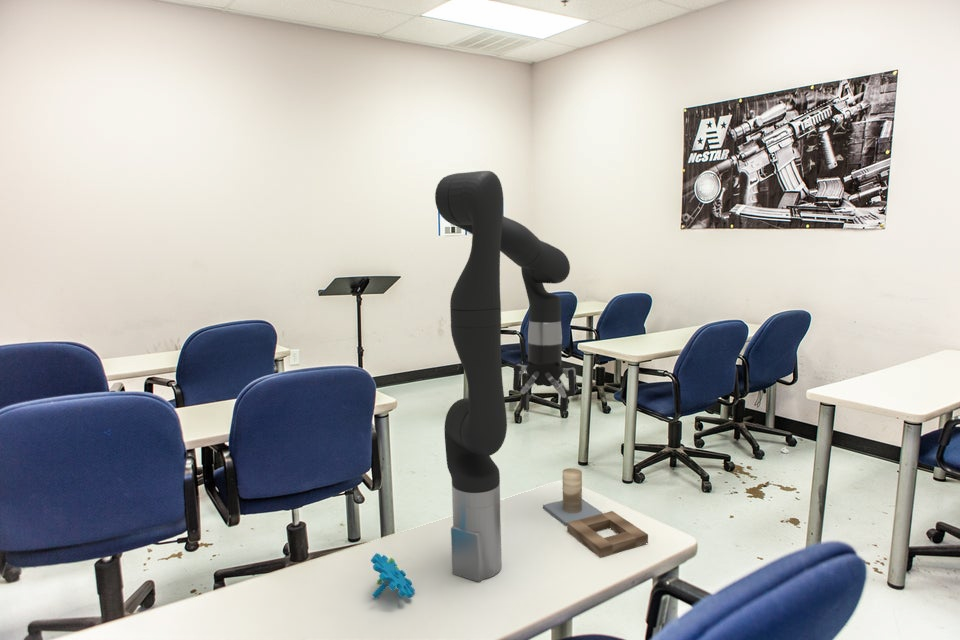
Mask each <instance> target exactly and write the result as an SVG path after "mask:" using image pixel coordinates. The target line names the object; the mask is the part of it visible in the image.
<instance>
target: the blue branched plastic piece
mask: <svg viewBox="0 0 960 640" xmlns="http://www.w3.org/2000/svg"><path fill="white" fill-rule="evenodd" d="M370 562H371V563H372V564H373V565H372V569H373V570H374V571H375V572H376V573H379V575H378V577H379V578H378V579H377V581H376V583H377V584H379V583H380V584H379V586H378V588H377V589H376V590H375V591H374V592H373V593H372V597H373V598H374V599H376V598H377V599H378V598H379V596H381V594H382V593H383V592H384V591H385V590H386V588H387V587H388V588H389V589H390V590H391V591H392V592H394V591H395V590H396V589H397V590H398V592H397V594H398V595H399V596H400V597H402V598H405V597H406V598H407V599H411V598H412V597H413V596H414V592H415V591H416V589H415V587H413V586H412V585H413V581H412V580H411V579H410V578H407V577H406V576H407V574H406V572H405V571H404V570H403V569H399V567H398V564H397V563H396V561H395V559H394V558H393V557H390V558H388V556H386V555H385V554H383V555H381V554H380V553H377V552H376V553H375V554H374V555H373V556H372V557H371V559H370Z"/></svg>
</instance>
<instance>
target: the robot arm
mask: <svg viewBox="0 0 960 640" xmlns="http://www.w3.org/2000/svg"><path fill="white" fill-rule="evenodd" d="M502 186H503V185H502V183H501V180H500V179H499V177H498V175H497V174H496V173H495V172H493V171H490V170H481V171H470V172H469V171H468V172H457V173H452V174H448V175H446V176H444V177H442V178H441V179H440V180H439V182H438V184H437V186H436V189H435V193H434V199H435V200H434V201H435V206H436V209H437V211H438V213H439V214H440V216H441V218H442V219H444V220H445V221H446V222H448V223H449V224H450V225H453V226H455V227H457V228H459V229H461V230H463V231H466V232H468V234H469V233H470V234H471V235H472V236H471V237H472V239H471V248H470V253H469V257H468V260H467V262H466V264H465V266H464V267H463V270H462V272H461V273H460V275H459V277H458V279H457V280H456V283H455V285H454V286H453V287H454V288H453V291H452V293H451V295H450V301H449V302H450V303H449V304H450V306H449V308H450V309H449V310H450V311H449V313H450V332H451V338H452V341H453V346H454V348H455V350H456V353H457V355H458V358H459V360H460V363H461V365H462V367H463V371H464V374H465V377H466V382H467V389H468V398H467V397H464V398H460V399H458V400H457V401H455V402H454V403H453V404H452V405H451V406H450V407H449V409H448V411H447V413H446V414H445V415H446V416H445V420H444V429H443V430H444V443H445V457H446V465H447V470H448V472H449V475H450V477H451V493H452V494H451V498H452V499H451V500H452V526H451V527H450V535H451V536H450V540H451V542H450V543H451V544H450V545H451V565H452V566H451V568H452V569H451V570H452V571H451V573H452V574H453V575H456V576H460V577H463V578H466V579H468V580H470V581H471V580H472V581H475V582H478V583H479V582H481V581H483V580H484V579H488V578H491V577H493V576H496V575H497V574H498V573H499V572H500V571H501V570H502V567H503V566H502V533H501V532H502V528H501V527H502V526H501V487H500V486H501V477H500V469H499V467H498V465H497V464H496V463H495V462H494V460H493V458H492V457H491V456H492V455H494V454H495V453H497V452H499V450H500V449H501V448H502V446H503V444H504V442H505V440H506V436H507V429H508V420H507V419H508V416H507V408H506V400H505V392H504V384H503V372H502V371H503V369H502V367H503V366H502V341H501V340H502V339H501V338H502V332H501V331H502V308H501V307H502V306H501V305H502V304H501V277H500V276H501V273H500V272H501V271H500V270H501V269H500V268H501V266H500V265H501V264H500V263H501V253H502V254H503V255H504V256H506V257H507V258H508V259H509V260H510V261H512V262H513V264H514V263H515V264H516V265H517V266H518V267H520V268H521V269H520V270H521V276H522V280H523V284H524V287H525V292H526V296H527V299H528V304H529V307H528V309H529V311H528V313H529V315H528V320H529V321H528V328H527V365H522V363H517V364H516V365H514V366H513V367H514V368H513V380H512V390H513V391H514V392H518V393H520V402H521V403H520V406H521V408H523V411H528V410H529V409H530V392H529V390H531V388H532V387H533V386H534V385H536V386H537V387H539V386H545V387H554V389H555V391H557V392H558V393H559V395H560V398H559V402H560V403H559V405H560V406H559V408H560V409H559V413H560V414H561V415H565V413H566V412H567V411H568V409H569V397H574V396H575V395H576V393H577V392H578V388H577V370H576V367H573V366H572V367H570V368H564V367H563V364H562V355H563V351H562V350H563V349H562V348H563V346H562V345H563V343H562V342H563V334H562V332H563V330H562V300H561V298H560V296H558V295H557V294H554V293H551V292H548V291H547V290H546V288H545V287H544V284H561V283H562V282H564V281H565V280H566V279H567V278H568V276H569V275H570V272H571V271H570V270H571V264H570V261H569V258H568V256H567V255H566V254H565V253H564V252H563V250H561V249H559V248H557V247H555V246H553V245H552V244H549V243H548V242H545V241H543V240H541V239H539V238H538V237H537V236H536V235H535V234H534V233H533V232H532V231H531V230H530V229H529V228H528V227H526V226H525V225H523V224H521V223H519V222H518V221H516V220H514V219H511V218H509V217H506V216H504V191H503V187H502ZM525 372H526V373H527V375H528V376H529V377H530V378H529V379H528V380H527V381H526V382H525V384H524V385H522V377H523V374H525ZM563 375H565V377H566V378H567V379H568V380H567V381H568V388H567V387H566V385H565V384H564V381H562V379H561V377H562V376H563Z"/></svg>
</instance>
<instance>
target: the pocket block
mask: <svg viewBox="0 0 960 640" xmlns="http://www.w3.org/2000/svg"><path fill="white" fill-rule="evenodd" d="M602 513H603V514H599V515H595V516H591V517H587V518H583V519H579V520H576V521H572V522H568V523H567V526H566V528H567V530H566V531H567V533H568V534H570V535H571V536H572V537H574V538H575V539H576V540H578V541H579V542H581V544H582V545H584V546H585V547H586V548H588V549H589V550H590V551H591V552H593V553H594V554H595V555H596V556H597V557H598V558H604V557H607V556H612V555H613V554H618V553H620V552H623V551H627V550H631V549H634V548H637V547H640V546H644V544H645V545H647V544H646V543H648V544H649V534H648V533H647V532H645V531H643V530H642V529H640V528H639V527H637V526H636V525H635V524H633V523H632V522H630V521H628V519H627V520H626V519H625V518H623V516H621V515H619V514H618V513H616V512H615V511H613V510H610V511H607V512H602ZM607 528H608V529H610V528H611V529H610V530H611V531H613V530H614V531H613V532H614V533H616V534H613V535H608V536H605V537H603V536H602V535H600V534H599V533H598V532H600V531H603V530H604V531H605V530H607ZM617 533H618V534H617Z"/></svg>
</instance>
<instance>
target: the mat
mask: <svg viewBox="0 0 960 640" xmlns="http://www.w3.org/2000/svg"><path fill="white" fill-rule="evenodd" d="M542 509H544V511H546V512H547V513H549V514H550V515H551V516H552V517H553V518H555V519H556V520H557V521H559V522H560V523H562V524H563V525H564V526H565V527H567V523H568V522H572V521H576V520H579V519H583V518H587V517H591V516H595V515H599V514H603V513H604V512H602V511H600V510H599V509H598V508H596V507H595V506H594V505H592V504H590V503H589V502H588V501H586V500H585V499H583V498H582V511H581V512H579V513H568V512H565V511H564V510H563V499H562V500H558V501H554V502H549V503H545V504H542Z"/></svg>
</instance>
